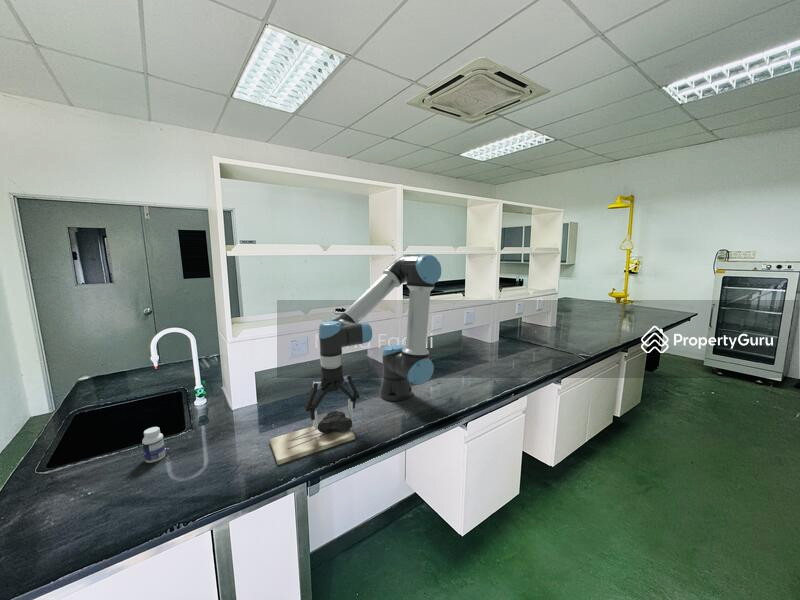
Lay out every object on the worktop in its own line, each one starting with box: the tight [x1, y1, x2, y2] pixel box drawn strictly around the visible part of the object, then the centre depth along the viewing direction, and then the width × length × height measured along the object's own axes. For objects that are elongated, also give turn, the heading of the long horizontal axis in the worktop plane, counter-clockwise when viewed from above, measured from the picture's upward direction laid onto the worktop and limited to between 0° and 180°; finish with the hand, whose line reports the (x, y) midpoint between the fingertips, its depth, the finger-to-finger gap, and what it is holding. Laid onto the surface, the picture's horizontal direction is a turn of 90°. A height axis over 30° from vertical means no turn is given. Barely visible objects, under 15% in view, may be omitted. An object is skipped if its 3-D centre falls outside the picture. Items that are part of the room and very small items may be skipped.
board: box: [268, 426, 356, 466], centre depth 111 cm, size 26×14×2 cm, turn 122°
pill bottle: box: [141, 426, 166, 464], centre depth 102 cm, size 5×5×10 cm
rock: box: [318, 410, 353, 433], centre depth 115 cm, size 10×6×10 cm
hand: (333, 422), depth 115 cm, fingers closed on rock, 13 cm apart
